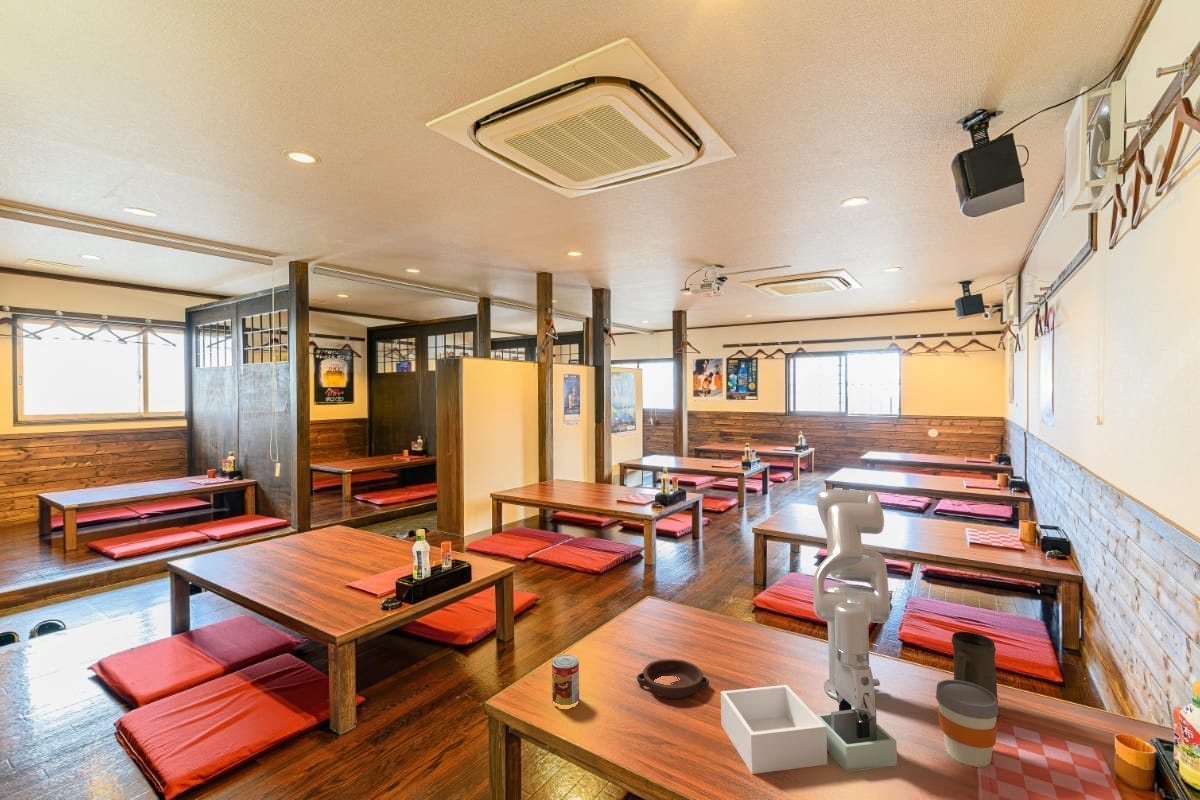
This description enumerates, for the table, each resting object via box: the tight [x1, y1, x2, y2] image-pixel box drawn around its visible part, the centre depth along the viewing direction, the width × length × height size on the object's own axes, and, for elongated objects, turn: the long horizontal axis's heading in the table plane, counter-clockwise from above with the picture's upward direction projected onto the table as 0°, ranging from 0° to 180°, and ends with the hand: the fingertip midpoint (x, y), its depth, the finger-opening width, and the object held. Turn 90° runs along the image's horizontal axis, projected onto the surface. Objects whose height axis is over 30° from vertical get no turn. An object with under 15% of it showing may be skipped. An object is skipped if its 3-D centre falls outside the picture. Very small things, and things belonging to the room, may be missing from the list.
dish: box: [636, 658, 710, 700], centre depth 159 cm, size 18×22×5 cm
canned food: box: [551, 654, 580, 705], centre depth 152 cm, size 8×8×12 cm
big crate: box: [720, 684, 828, 775], centre depth 132 cm, size 19×19×9 cm
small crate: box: [815, 708, 898, 773], centre depth 129 cm, size 13×13×10 cm
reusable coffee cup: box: [935, 679, 1000, 768], centre depth 127 cm, size 13×13×15 cm
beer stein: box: [951, 631, 1000, 718], centre depth 144 cm, size 15×11×20 cm
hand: (854, 727), depth 129 cm, fingers open, 6 cm apart
